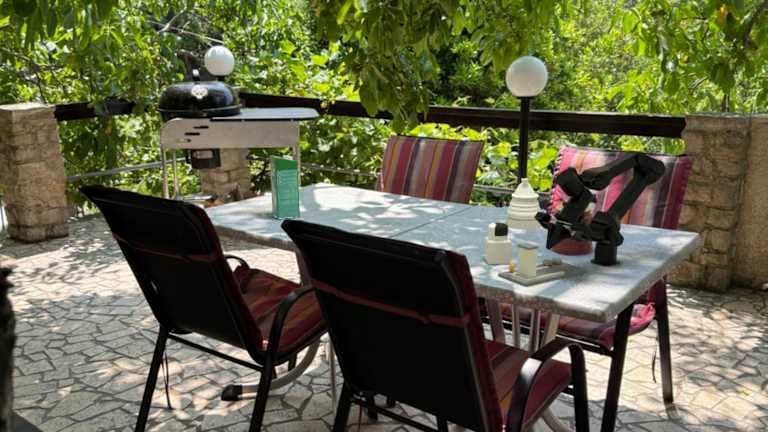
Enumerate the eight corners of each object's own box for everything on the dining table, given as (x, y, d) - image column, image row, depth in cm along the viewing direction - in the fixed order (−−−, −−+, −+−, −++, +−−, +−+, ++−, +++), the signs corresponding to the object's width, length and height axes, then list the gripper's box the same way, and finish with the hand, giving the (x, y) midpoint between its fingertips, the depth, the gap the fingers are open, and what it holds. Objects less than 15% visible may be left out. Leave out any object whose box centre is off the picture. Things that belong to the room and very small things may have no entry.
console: (558, 262, 226) (558, 250, 225) (587, 272, 216) (588, 259, 215) (498, 276, 213) (498, 263, 212) (526, 286, 203) (526, 273, 202)
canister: (562, 243, 248) (564, 192, 244) (598, 249, 240) (601, 196, 236) (544, 251, 238) (546, 198, 235) (581, 258, 230) (584, 203, 227)
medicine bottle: (506, 257, 232) (507, 220, 229) (511, 264, 225) (512, 226, 222) (484, 258, 232) (484, 221, 229) (488, 264, 225) (488, 226, 222)
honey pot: (541, 230, 267) (543, 181, 263) (505, 229, 269) (506, 180, 265) (541, 222, 279) (542, 175, 275) (507, 221, 281) (508, 174, 278)
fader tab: (525, 274, 211) (526, 242, 209) (537, 278, 207) (538, 246, 205) (516, 276, 210) (517, 244, 207) (528, 280, 206) (529, 247, 203)
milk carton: (300, 218, 292) (297, 155, 287) (277, 220, 289) (274, 157, 284) (294, 213, 301) (291, 153, 295) (272, 215, 297) (269, 154, 292)
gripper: (613, 228, 210) (585, 272, 207) (566, 216, 226) (538, 257, 223) (595, 205, 204) (565, 249, 201) (547, 194, 220) (519, 236, 217)
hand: (547, 248), depth 211 cm, fingers closed
